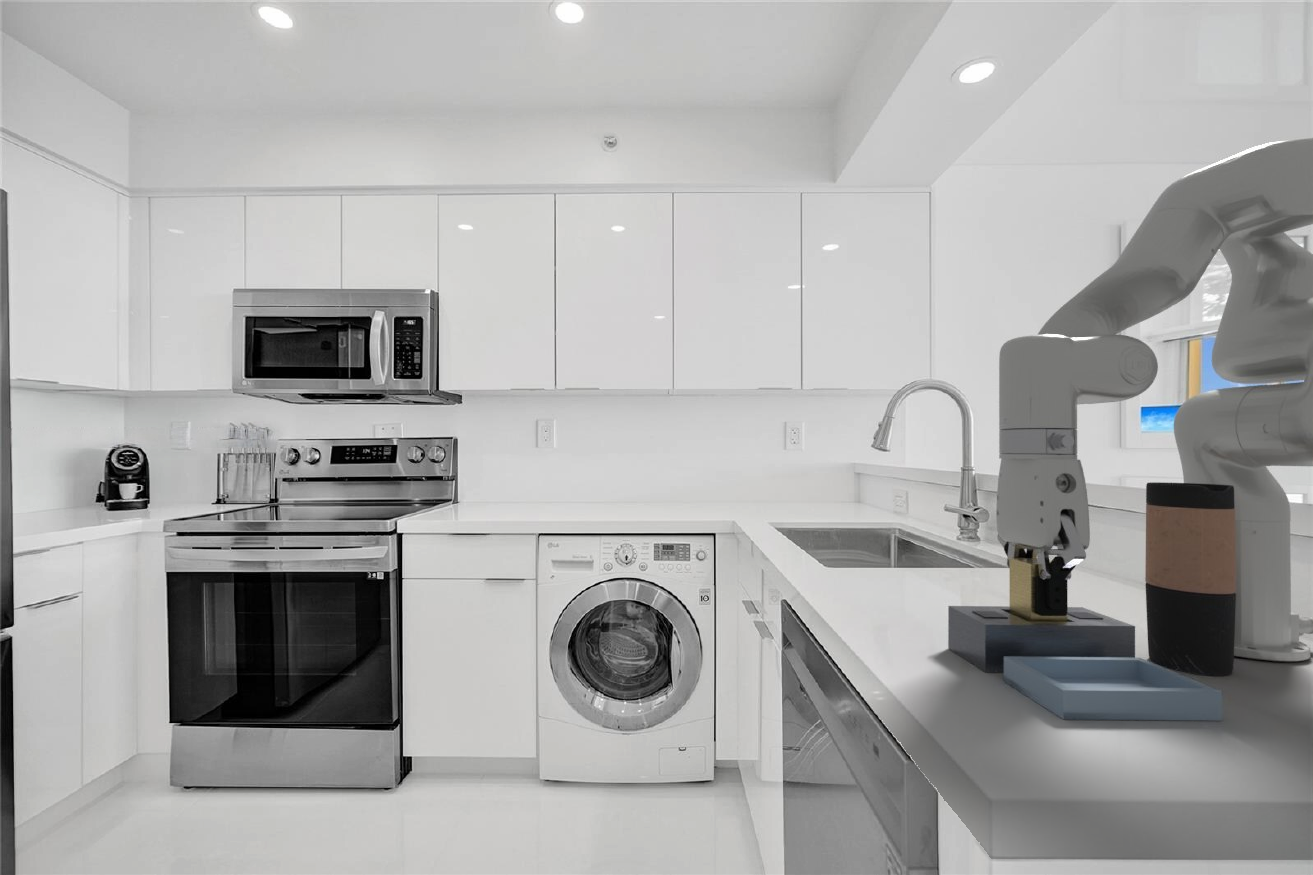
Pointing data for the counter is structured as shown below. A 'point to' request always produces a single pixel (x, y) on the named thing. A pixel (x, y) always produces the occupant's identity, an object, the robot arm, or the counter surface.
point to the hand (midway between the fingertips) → (1037, 608)
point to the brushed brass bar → (1026, 591)
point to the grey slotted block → (1034, 636)
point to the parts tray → (1111, 689)
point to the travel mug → (1191, 576)
